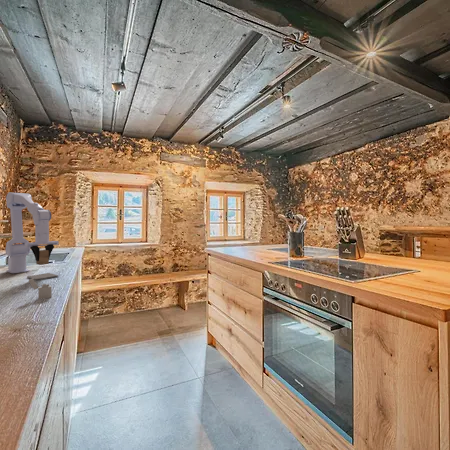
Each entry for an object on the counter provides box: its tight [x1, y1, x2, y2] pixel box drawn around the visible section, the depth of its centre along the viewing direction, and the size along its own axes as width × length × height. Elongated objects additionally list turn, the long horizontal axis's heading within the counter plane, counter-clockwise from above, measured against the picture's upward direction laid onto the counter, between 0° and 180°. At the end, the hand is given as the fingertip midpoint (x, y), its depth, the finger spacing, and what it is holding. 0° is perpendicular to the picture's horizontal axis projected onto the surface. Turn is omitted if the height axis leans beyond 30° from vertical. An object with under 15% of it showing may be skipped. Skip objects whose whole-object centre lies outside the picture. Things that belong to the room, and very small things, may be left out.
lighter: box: [28, 278, 53, 300], centre depth 101 cm, size 7×2×8 cm, turn 121°
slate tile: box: [26, 272, 59, 282], centre depth 134 cm, size 10×10×1 cm
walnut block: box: [35, 249, 50, 266], centre depth 133 cm, size 4×4×7 cm
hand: (42, 260), depth 133 cm, fingers closed on walnut block, 4 cm apart
